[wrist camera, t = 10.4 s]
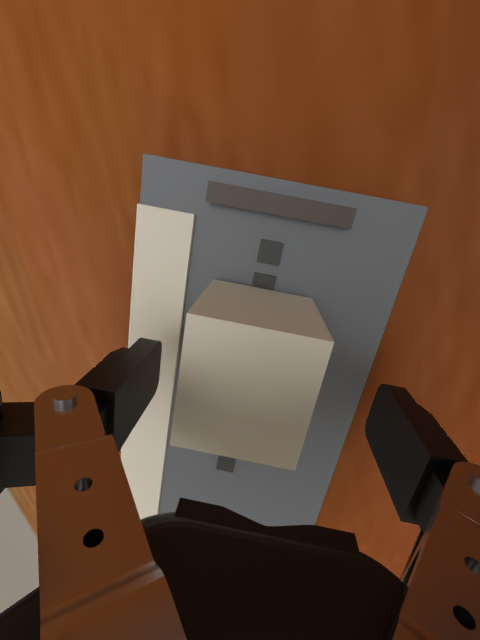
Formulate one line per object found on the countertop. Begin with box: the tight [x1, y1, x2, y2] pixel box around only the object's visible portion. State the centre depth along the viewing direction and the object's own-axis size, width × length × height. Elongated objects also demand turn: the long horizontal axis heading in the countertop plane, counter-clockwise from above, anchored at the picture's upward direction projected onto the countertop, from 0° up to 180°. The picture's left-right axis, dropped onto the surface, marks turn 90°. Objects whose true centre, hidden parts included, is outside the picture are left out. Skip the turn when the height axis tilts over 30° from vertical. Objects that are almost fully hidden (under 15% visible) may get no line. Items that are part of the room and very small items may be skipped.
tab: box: [170, 279, 334, 471], centre depth 13 cm, size 4×5×5 cm
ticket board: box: [121, 153, 429, 526], centre depth 18 cm, size 12×24×2 cm, turn 170°
